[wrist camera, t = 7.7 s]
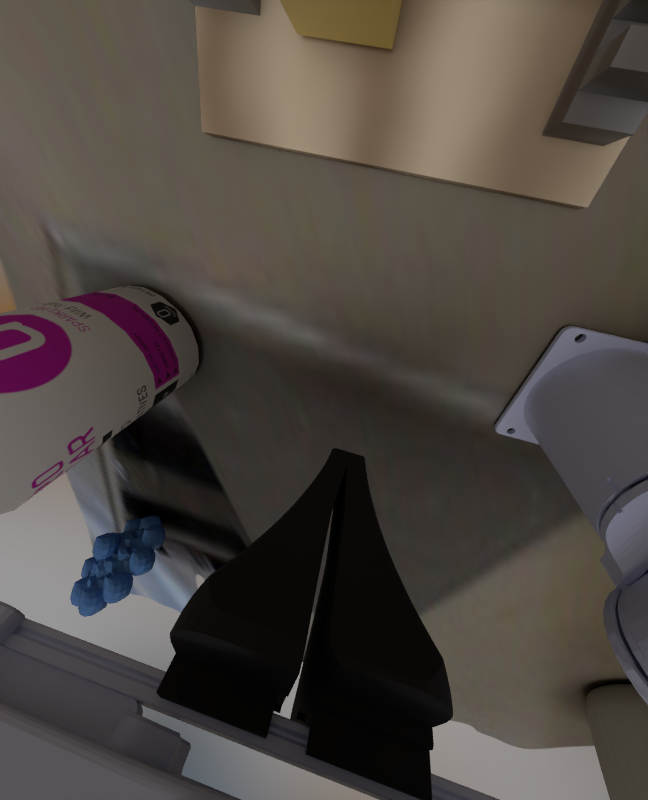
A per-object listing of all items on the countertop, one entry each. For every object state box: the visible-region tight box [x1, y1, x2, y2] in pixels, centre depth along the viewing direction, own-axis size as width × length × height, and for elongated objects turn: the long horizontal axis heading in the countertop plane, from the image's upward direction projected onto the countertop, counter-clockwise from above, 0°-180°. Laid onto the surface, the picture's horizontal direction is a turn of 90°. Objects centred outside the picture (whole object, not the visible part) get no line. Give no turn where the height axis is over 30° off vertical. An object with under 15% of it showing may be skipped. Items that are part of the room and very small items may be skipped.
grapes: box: [70, 515, 165, 617], centre depth 34 cm, size 12×7×12 cm, turn 114°
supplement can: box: [0, 285, 199, 514], centre depth 16 cm, size 8×8×15 cm
